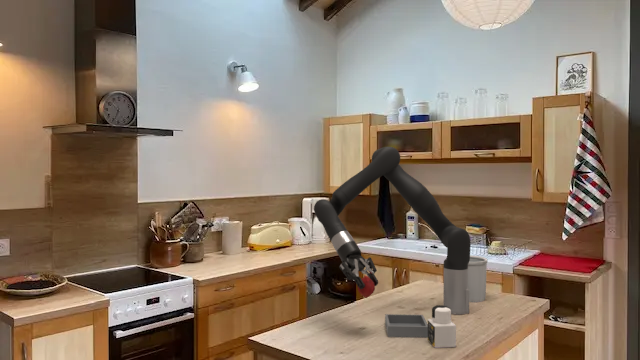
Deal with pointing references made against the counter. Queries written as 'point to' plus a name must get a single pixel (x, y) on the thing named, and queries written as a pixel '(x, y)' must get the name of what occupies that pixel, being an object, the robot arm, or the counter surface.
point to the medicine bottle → (441, 328)
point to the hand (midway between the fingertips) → (369, 286)
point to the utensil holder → (477, 278)
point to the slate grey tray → (406, 325)
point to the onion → (367, 287)
